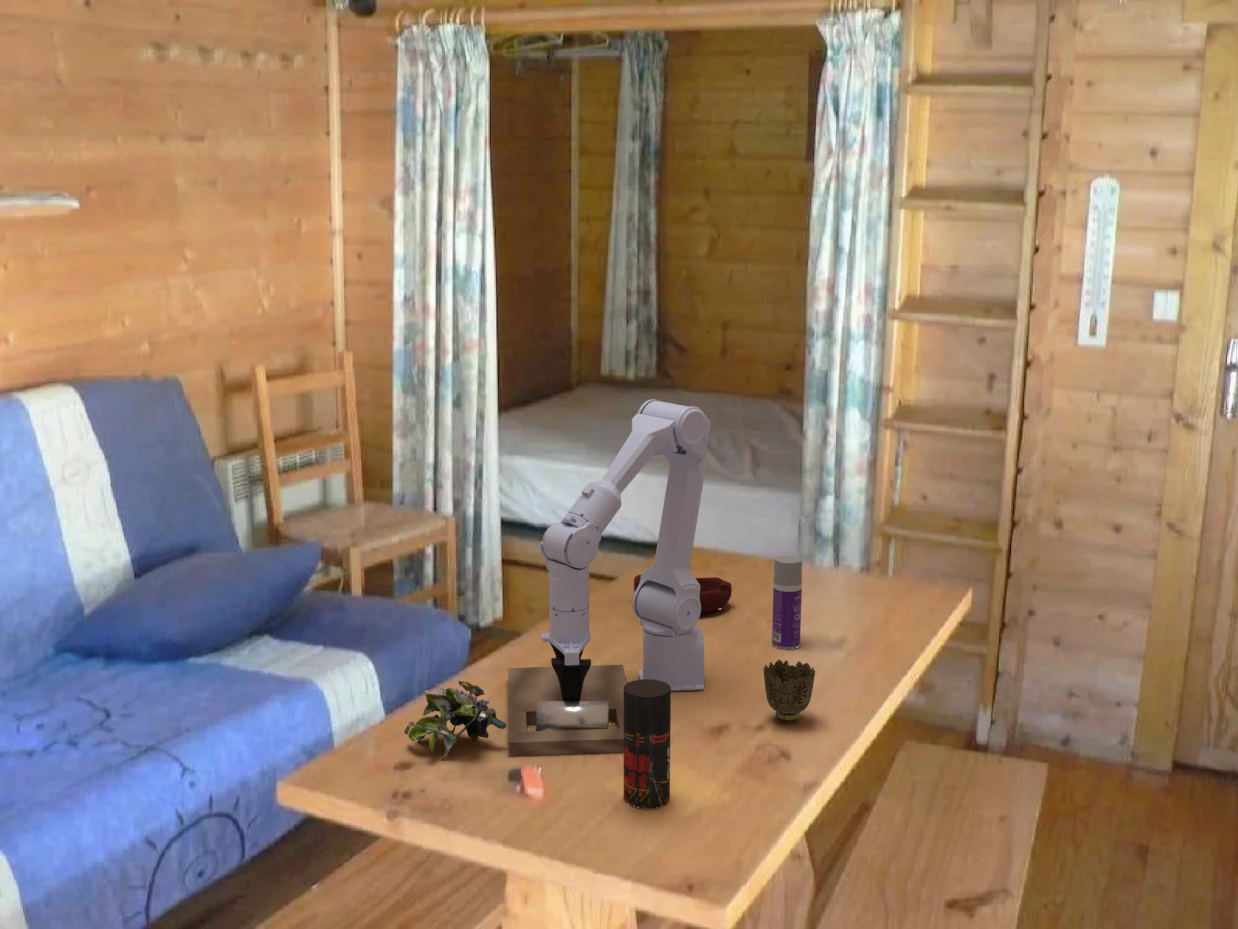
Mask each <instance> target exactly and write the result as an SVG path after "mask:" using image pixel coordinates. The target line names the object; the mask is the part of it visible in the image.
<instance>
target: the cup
mask: <svg viewBox="0 0 1238 929" xmlns="http://www.w3.org/2000/svg"><path fill="white" fill-rule="evenodd" d="M795 664H796V665H793V664H791V665H789V661H788V660H784V662H783V661H782V659H777V660H776V661H775V663H774V664H773V662H772V661H769V664H768V665H767V664H765V666H763V668H762V669H763V671H762V672H763V678H764V680H763V681H764V690H765V695H766V696H765V698H766V700H767V703H768V705H769V706H770V707H771V709H772V710H773V711H775V713H774V714H775V715H774V716H775V718H776V720H777V721H778V722H780V723H783V724H789V725H790V724H794V723H795V724H796V723H797V722H799V721H800V719H801V716H802V714H801V713H802V712H804V710H805V709H806V710H807V708H808V706H809V704H810V701H811V699H812V693H813V688H814V682H815V676H816V670H815V669H814V667H811V665H810V664H809V663H808V662H805V663H802V661H800V660H798V661H797V662H796V663H795Z"/></svg>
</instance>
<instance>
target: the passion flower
mask: <svg viewBox="0 0 1238 929" xmlns="http://www.w3.org/2000/svg"><path fill="white" fill-rule="evenodd" d="M458 685H459V686H460V687H462V688H463V689H464V690H465V691H466V692H468V693H469V694H468V693H465V692H464V691H463V690H459V689H457V688H454V687H451V686H449V687H447V688H446V689H444V688H443V687H442V688H440V689H439V690H438V691H437V692H438V693H437V694H435V693H431V692H429V691H428V690H425V691H424V696H425V697H426V699H425V700H426V702H427V705H426V706H425V707H424V710H423V713H422V716H423V717H421V718H419V720H417V721H416V723H415V722H414V721H409V722H408V725H407V726H406V727H405V729H404V731H403V732H404V734H405V735H408V739H409V740H411V742H414V741H415V742H416V741H417V742H418V743H420V742H422V740H424V739H425V738H426V736H428V735H429V736H430V738H429V744H428V745H429V749H430V751H431V752H432V753H434V750H435V746H436V740H437V739H438V738H439V737H440V736H442V737H443V745H444V748H445V751H444V755H443V757H441V758H442V759H441V761H444V760H445V758H446V757H447V755H448V754H449V752H450V750H451V749H452V747H453V746H454V744H455V743H458V742H459V738H460V736H461V735H462V734H463V733H464V732H465V731H466V733H467V736H468V737H469V738H470V739H471V740H472V739H473V740H477V739H478V738H484V739H488V738H489V736H490V735H489V732H488V730H487V729H488V727H489V726H490V725H492V726H494V727H496V729H497V728H498V729H500V730H502V729H503V730H505V729H506V728H507V722H505V721H502V720H501V719H498V717H497V714H496V713H497V712H496V710H495V708H490V707H488V704H490V701H488V700H484V699H480V700H477V698H478V697H480V696H483V695H486V693H485V691H484V689H482V688H481V687H480V686H479V685H477V684H476V685H475V684H473V683H472V682H470V681H467V680H466V681H462V680H458ZM441 690H442V691H441ZM439 693H440V694H439ZM473 695H474V696H473ZM434 712H439V713H440V716H439V715H438V714H436V713H435V715H434V716H433V715H432V716H430V714H431V713H434ZM427 715H429V716H427ZM448 721H449V723H450V724H451V725H452V726H453V729H452V730H450V729H449V728H448V726H447V724H448ZM462 725H463V726H464V727H463V729H461V730H460V731H459V732H458V733H457V734H455V731H456V727H457V726H462ZM442 731H444V732H446V733H443V732H442ZM447 733H448V734H447Z"/></svg>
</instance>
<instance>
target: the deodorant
mask: <svg viewBox="0 0 1238 929" xmlns="http://www.w3.org/2000/svg"><path fill="white" fill-rule="evenodd" d="M671 694H672V691H671V687H670V685H669V684H667V683H665V682H663V681H659V680H652V679H642V680H640V679H636V680H632V681H629V682H627V684H626V685H625V686H624V752H623V801H624V802H625V804H627V803H628V804H630V805H632V806H635V807H634V808H636V807H639V808H638V809H641V808H654V809H657V808H656V807H659V808H661V806H662V807H664V806H666V805H667V804H668V803H669V802H670V800H671V722H672V720H671V715H672V714H671V712H672V711H671V709H672V707H671V704H672V703H671V702H672V701H671V700H672V697H671V696H672V695H671ZM628 804H627V805H628ZM630 805H629V806H630ZM663 805H664V806H663ZM632 806H631V807H632Z"/></svg>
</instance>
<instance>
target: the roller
mask: <svg viewBox="0 0 1238 929" xmlns="http://www.w3.org/2000/svg"><path fill="white" fill-rule="evenodd" d="M609 723H610V722H609V705H608V702H604V701H538V702H537V712H536V724H535V726H536V728H535V731H559V730H588V729H609Z"/></svg>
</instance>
